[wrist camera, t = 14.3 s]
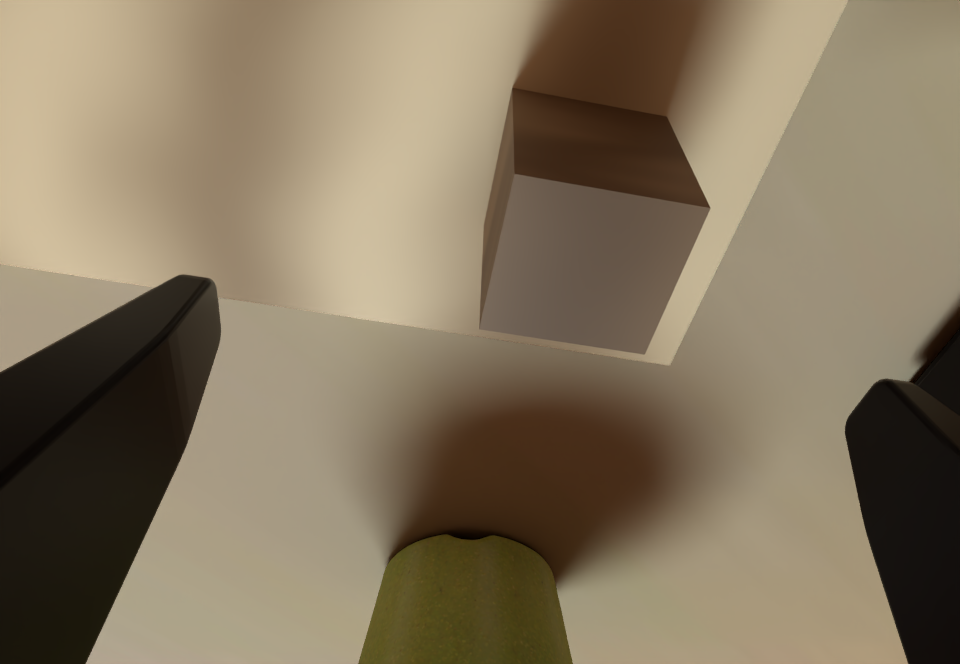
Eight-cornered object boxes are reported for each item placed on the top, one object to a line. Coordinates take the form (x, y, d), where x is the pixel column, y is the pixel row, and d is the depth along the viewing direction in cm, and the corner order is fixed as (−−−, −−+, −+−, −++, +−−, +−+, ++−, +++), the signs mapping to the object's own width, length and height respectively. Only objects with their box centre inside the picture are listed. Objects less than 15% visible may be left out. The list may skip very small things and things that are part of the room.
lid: (844, -52, 12) (986, 20, 8) (662, 339, 18) (701, 478, 14) (-387, -318, 10) (-863, -367, 6) (-135, 216, 16) (-314, 340, 12)
